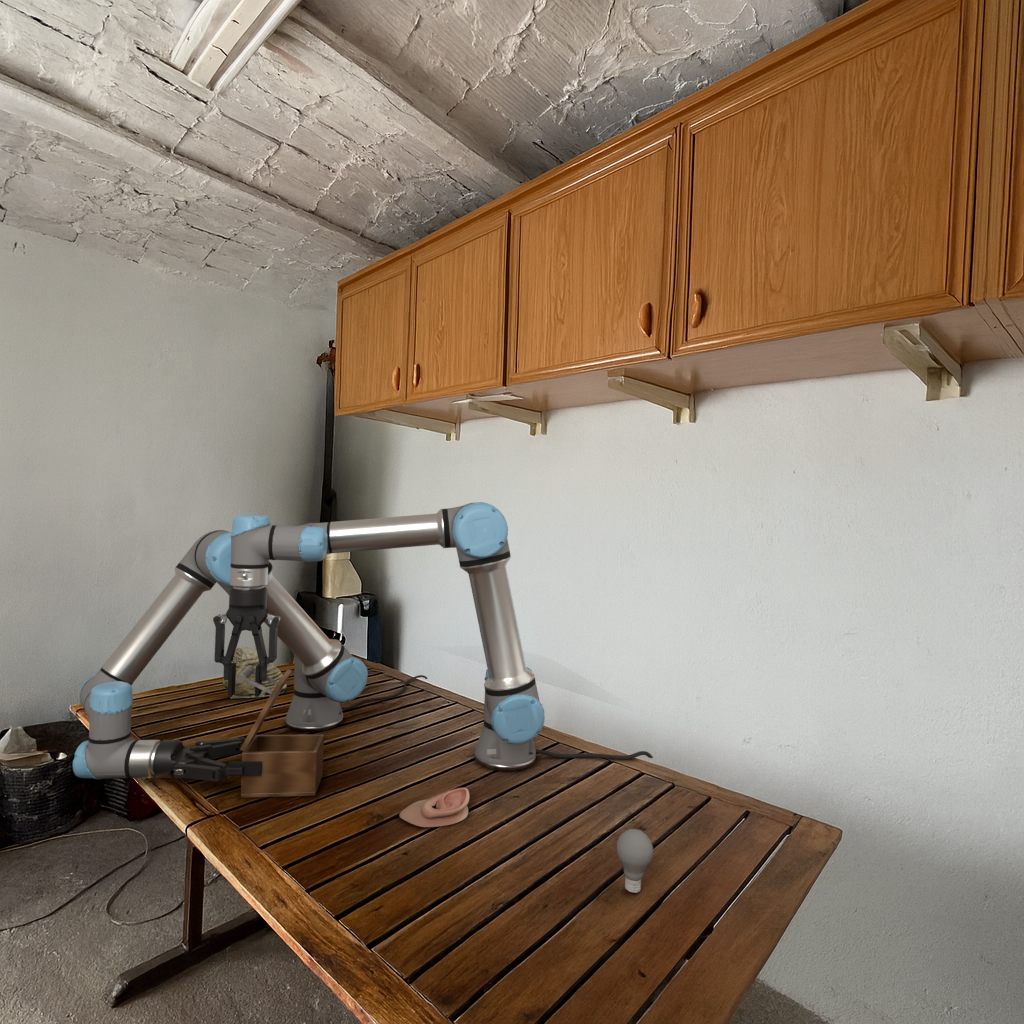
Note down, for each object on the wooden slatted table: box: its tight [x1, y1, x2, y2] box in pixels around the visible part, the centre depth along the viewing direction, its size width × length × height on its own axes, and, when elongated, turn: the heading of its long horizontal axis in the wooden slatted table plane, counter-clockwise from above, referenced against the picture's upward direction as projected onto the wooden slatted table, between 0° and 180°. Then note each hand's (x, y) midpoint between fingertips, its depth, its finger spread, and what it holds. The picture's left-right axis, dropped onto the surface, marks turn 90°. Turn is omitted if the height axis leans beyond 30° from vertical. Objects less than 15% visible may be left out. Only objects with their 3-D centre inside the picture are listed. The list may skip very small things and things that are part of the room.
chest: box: [240, 733, 325, 799], centre depth 138 cm, size 15×10×9 cm
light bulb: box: [615, 828, 654, 894], centre depth 106 cm, size 6×6×10 cm
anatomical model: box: [398, 787, 471, 828], centre depth 128 cm, size 13×4×12 cm
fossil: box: [222, 646, 288, 699], centre depth 198 cm, size 9×18×15 cm, turn 132°
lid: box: [237, 665, 293, 751], centre depth 136 cm, size 16×10×9 cm
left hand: (267, 757), depth 137 cm, fingers closed on chest, 10 cm apart
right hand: (244, 694), depth 136 cm, fingers open, 5 cm apart
